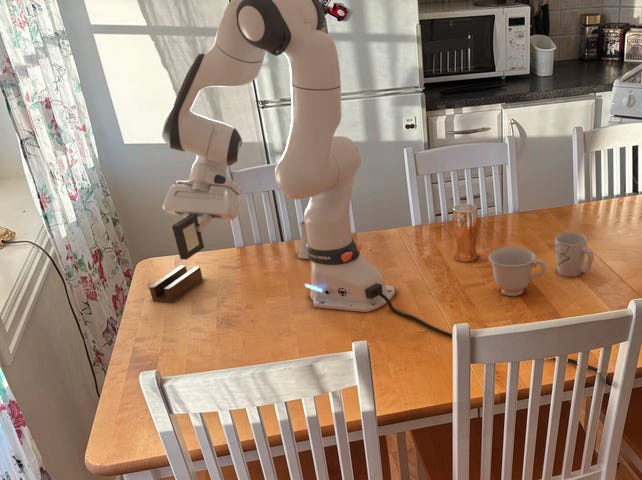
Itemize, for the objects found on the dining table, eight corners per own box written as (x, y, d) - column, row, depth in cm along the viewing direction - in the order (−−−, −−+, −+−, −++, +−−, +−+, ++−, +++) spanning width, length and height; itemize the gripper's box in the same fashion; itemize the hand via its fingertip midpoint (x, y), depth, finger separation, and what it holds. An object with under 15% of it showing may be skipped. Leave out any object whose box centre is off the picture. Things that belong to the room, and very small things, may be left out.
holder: (184, 278, 202) (180, 265, 200) (203, 280, 201) (199, 267, 199) (152, 300, 191) (148, 287, 189) (172, 302, 189) (168, 289, 187)
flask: (316, 260, 210) (311, 227, 205) (293, 259, 212) (287, 226, 206) (326, 250, 216) (321, 218, 211) (303, 249, 218) (298, 217, 212)
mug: (600, 274, 197) (602, 240, 192) (581, 284, 192) (583, 249, 187) (566, 263, 204) (568, 229, 199) (547, 273, 199) (548, 238, 194)
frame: (198, 247, 192) (190, 214, 187) (204, 247, 191) (196, 214, 187) (180, 259, 185) (171, 225, 180) (186, 259, 185) (177, 226, 180)
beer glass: (450, 260, 208) (448, 210, 200) (460, 251, 213) (458, 202, 205) (473, 264, 205) (471, 213, 197) (482, 254, 211) (481, 204, 203)
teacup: (538, 306, 182) (539, 269, 177) (482, 298, 187) (481, 262, 182) (551, 286, 192) (552, 250, 187) (498, 278, 197) (497, 244, 191)
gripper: (165, 174, 190) (151, 223, 187) (234, 179, 185) (221, 229, 182) (179, 185, 196) (166, 233, 193) (247, 190, 191) (234, 239, 188)
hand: (193, 231), depth 188 cm, fingers closed on frame, 2 cm apart
